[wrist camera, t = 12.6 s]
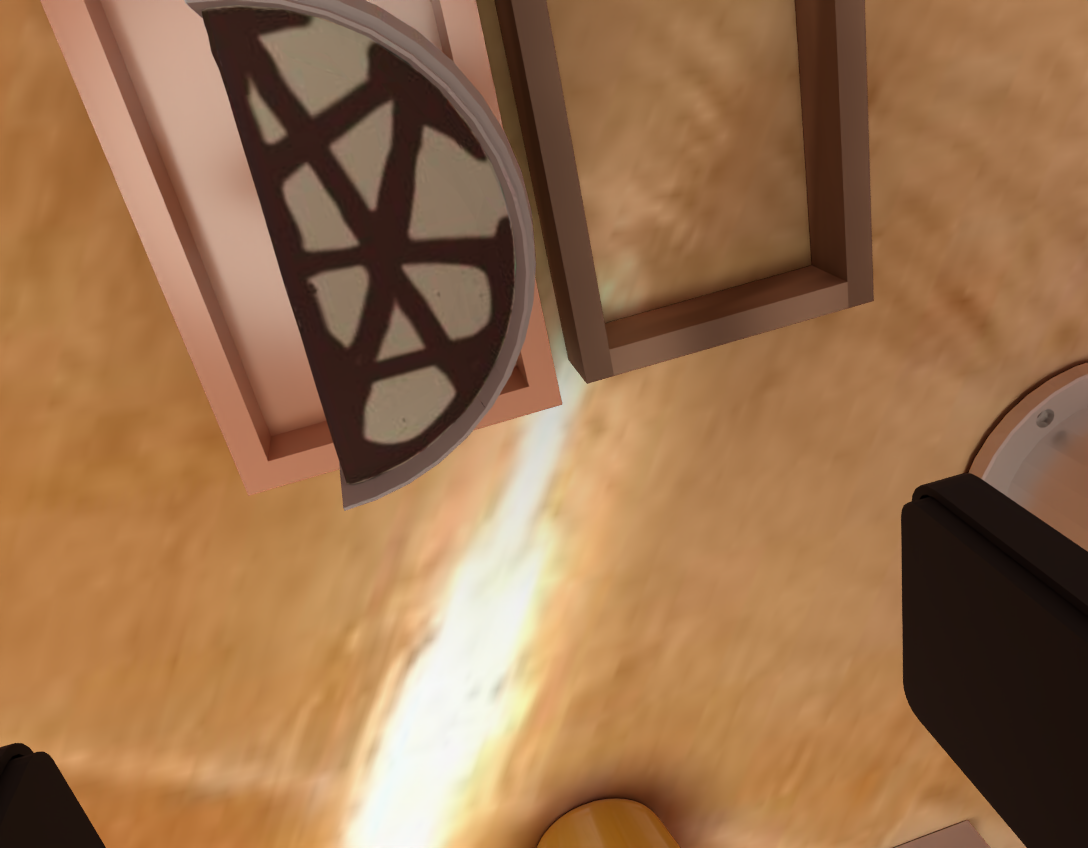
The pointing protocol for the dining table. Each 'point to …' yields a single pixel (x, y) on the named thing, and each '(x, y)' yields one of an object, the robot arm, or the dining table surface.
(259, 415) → the terracotta tray
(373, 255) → the food container
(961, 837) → the grey parts rim
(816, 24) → the walnut stand frame
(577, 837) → the plant pot
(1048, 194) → the dining table surface
